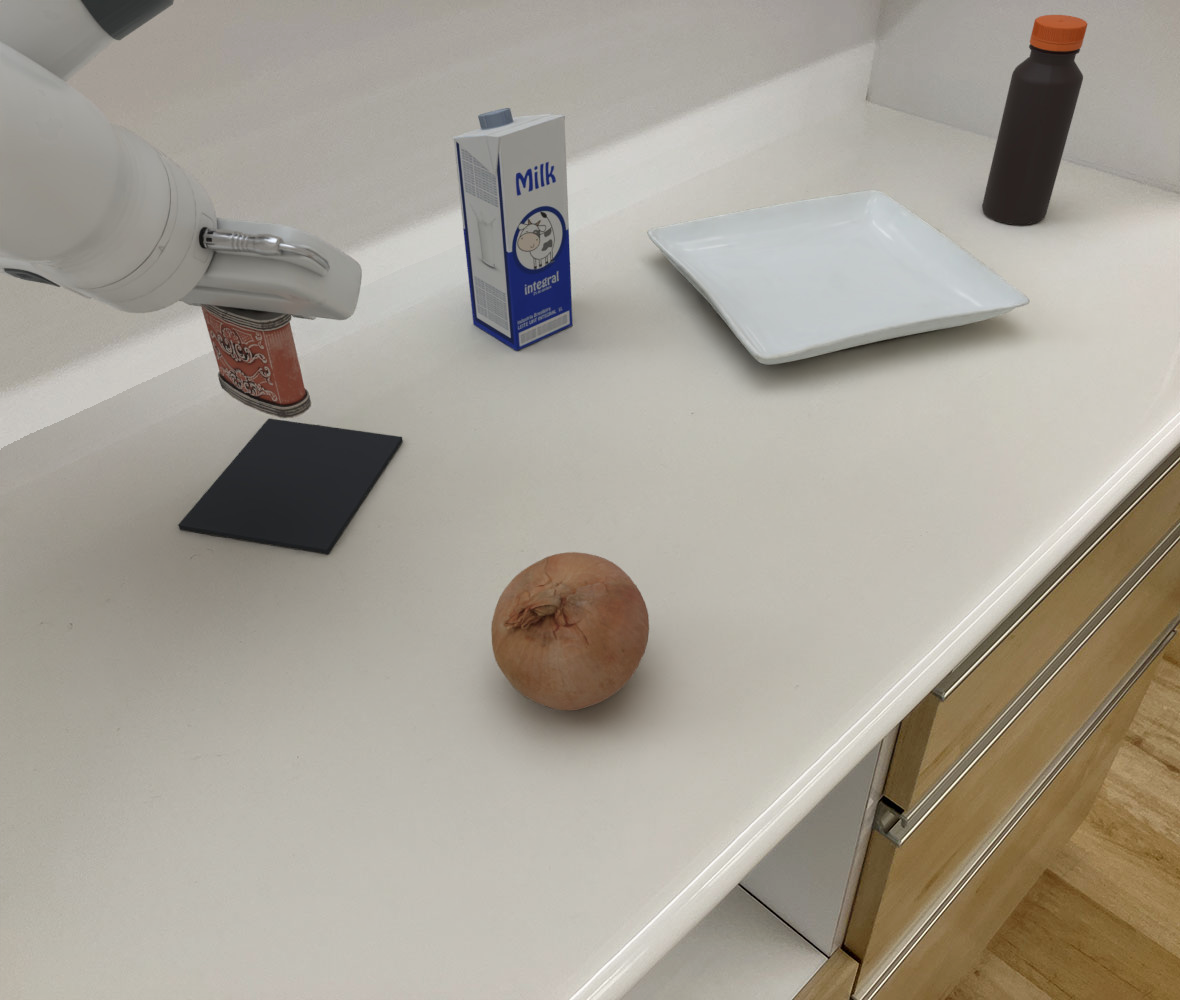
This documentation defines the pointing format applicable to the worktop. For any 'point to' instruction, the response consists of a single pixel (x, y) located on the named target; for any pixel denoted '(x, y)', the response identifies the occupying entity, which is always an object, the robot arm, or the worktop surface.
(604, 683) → the onion
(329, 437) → the mat
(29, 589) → the worktop surface
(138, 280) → the robot arm
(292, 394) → the lighter
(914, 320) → the square plate
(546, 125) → the milk carton
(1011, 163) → the bottle
